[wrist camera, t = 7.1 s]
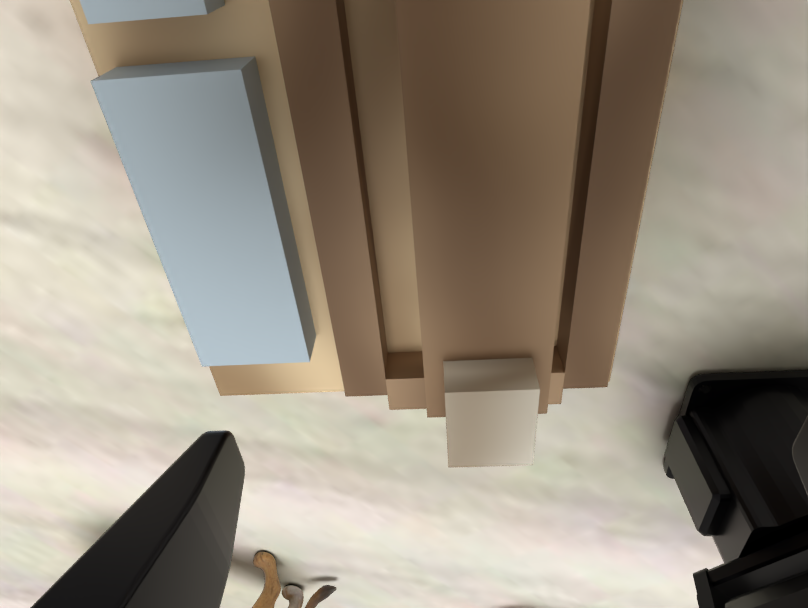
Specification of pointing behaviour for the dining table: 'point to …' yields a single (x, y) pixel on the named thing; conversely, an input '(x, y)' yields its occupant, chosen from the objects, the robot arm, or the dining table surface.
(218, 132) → the wing slat
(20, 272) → the dining table surface
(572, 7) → the tall wooden prism
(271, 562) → the lion figurine
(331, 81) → the jig
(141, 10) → the small light blue block
